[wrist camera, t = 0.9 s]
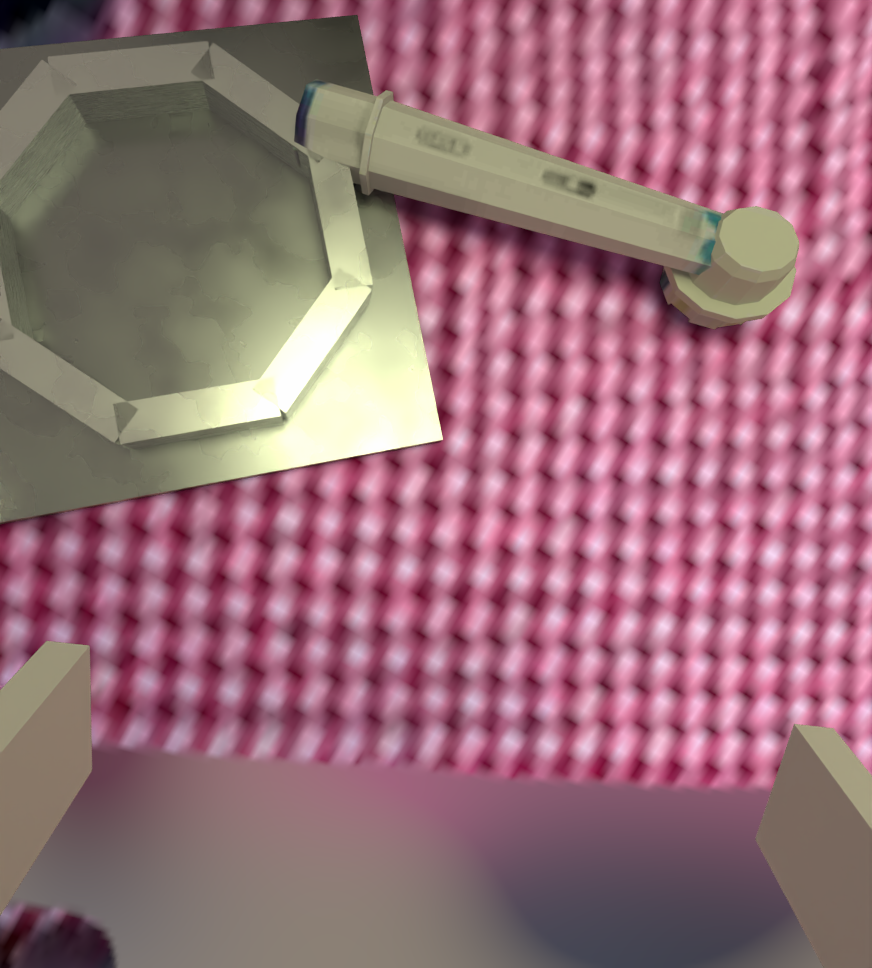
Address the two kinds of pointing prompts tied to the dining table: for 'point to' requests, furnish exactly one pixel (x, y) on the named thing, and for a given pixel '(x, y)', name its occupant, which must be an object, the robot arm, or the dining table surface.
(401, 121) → the beige knobbed rod
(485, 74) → the dining table surface
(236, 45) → the collar
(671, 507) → the dining table surface
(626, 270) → the dining table surface
